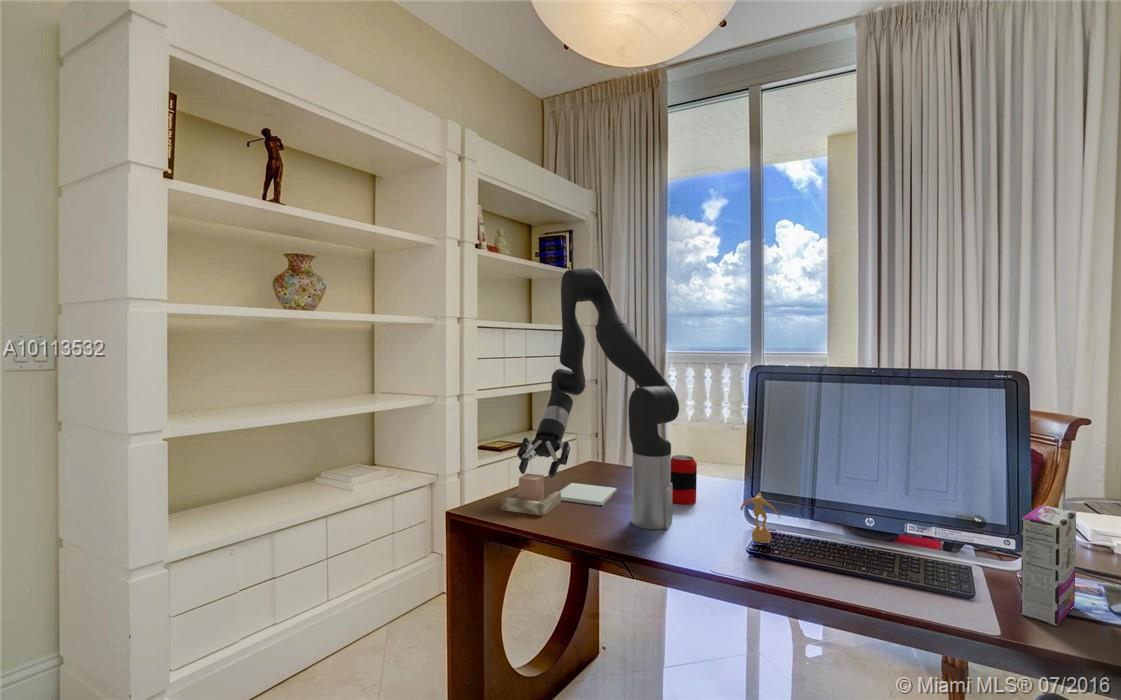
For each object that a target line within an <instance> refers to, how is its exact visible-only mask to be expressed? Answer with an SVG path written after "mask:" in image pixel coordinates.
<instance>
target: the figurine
mask: <svg viewBox="0 0 1121 700" xmlns="http://www.w3.org/2000/svg"><path fill="white" fill-rule="evenodd" d="M748 503H753V506H754V508H753V509H752V513H753V516H755V519H754V522H755V526H756V527H755V528H754V529H753V530H752V532H751V538H752V541H753V540H754V541H755V542H760V543H769V542H770V543H771V541H772V534H771V532H770V530H769V529H768V528H767V527H766V523H767V519H768V516H767V512H766V510H763V509H764V506H765V505H766V507H769V508H770V509H772V510H773V511H774V513H775V514H776V515H777V516H778V518H779V519H781V516H780V514H779V512H778V511H777V509H776V508H775V507H774V505H772V504H771V503H769V502H768V501H766V500H765V499H764V498H763V494H762V493H761V492H758V493H757V494H756V495H755V497H752V498H749V499H745V500H744V501H742V504H741V506H740V512H742V511H743V510H744V507H745V505H746V504H748ZM760 515H761V518H763V520H762V521H761V522H762V526H759V523H758V522H759V516H760ZM754 541H753V542H754ZM755 542H754V543H755ZM770 543H769V544H770Z"/></svg>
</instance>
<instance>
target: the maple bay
mask: <svg viewBox="0 0 1121 700" xmlns="http://www.w3.org/2000/svg"><path fill="white" fill-rule="evenodd" d="M559 491H560V490H559ZM559 491H557V490H556V491H554V492H553V493H551V494H550V495H548V496H547V497H544V500H542V501H541V502H539V501H532V500H525V499H519V487H518V488H516V489H515V490H514V491H511V492H510V493H508V494H506V495H504V496H503V497H502V498H501V502H500V503H501V510H502V511H505V512H507V511H508V512H514V513H520V512H521V514H528V515H534V514H535V516H540V515H541V517H543V516H545V514H546V515H547V514H548V513H550V512H551V511H552V510H553V509H554V508H556V507H558V505H560V504H561V503H562V500H561V492H559ZM501 510H500V511H501Z"/></svg>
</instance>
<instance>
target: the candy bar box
mask: <svg viewBox="0 0 1121 700" xmlns="http://www.w3.org/2000/svg"><path fill="white" fill-rule="evenodd" d="M1076 534H1077V511H1073V510H1069V509H1064V508H1059V507H1053V506H1051V505H1042V504H1041V505H1038V507H1036V508H1035V509H1033V510H1032V511H1030V512H1029V513H1027V514H1026V515H1024V516H1023V517H1021V550H1020V551H1021V553H1020V555H1021V565H1020V566H1021V574H1020V576H1021V577H1020V580H1021V581H1020V583H1021V585H1020V614H1021V615H1022V616H1024V617H1026V616H1027V618H1029V617H1030V618H1029V619H1032V618H1033V620H1035V619H1036V620H1035V621H1038V622H1042V623H1045V624H1048V625H1051V626H1055V627H1059V625H1061V623H1063V621H1064V620H1065V618H1066V617H1067V616H1068V614H1069V613H1070V612H1071V611H1072V610H1071V608H1072V607H1073V606H1074V604H1075V605H1076V602H1075V601H1076V600H1075V598H1076V590H1075V589H1076V548H1077V547H1076V546H1077V545H1076V541H1077V540H1076V539H1077V537H1076V536H1077V535H1076ZM1074 607H1075V606H1074ZM1074 607H1073V608H1074ZM1070 610H1071V611H1070ZM1069 611H1070V612H1069ZM1068 612H1069V613H1068ZM1066 615H1067V616H1066Z"/></svg>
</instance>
